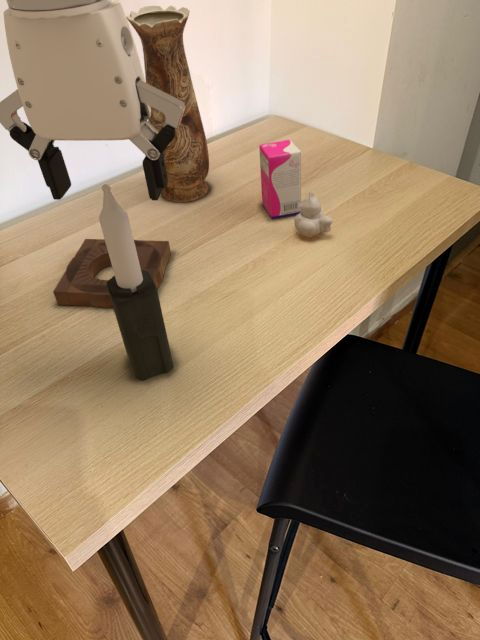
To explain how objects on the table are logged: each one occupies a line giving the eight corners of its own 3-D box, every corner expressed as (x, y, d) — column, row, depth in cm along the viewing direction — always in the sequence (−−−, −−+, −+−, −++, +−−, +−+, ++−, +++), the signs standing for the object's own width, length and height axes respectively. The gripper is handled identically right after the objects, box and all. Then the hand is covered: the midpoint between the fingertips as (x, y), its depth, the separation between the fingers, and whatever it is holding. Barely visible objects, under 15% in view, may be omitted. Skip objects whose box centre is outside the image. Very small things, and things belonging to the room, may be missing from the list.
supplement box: (290, 199, 99) (291, 138, 91) (301, 214, 95) (302, 152, 87) (261, 204, 98) (258, 143, 90) (270, 220, 94) (269, 157, 86)
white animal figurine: (301, 222, 93) (301, 179, 87) (336, 230, 91) (340, 186, 85) (288, 238, 89) (288, 194, 84) (325, 246, 87) (328, 202, 82)
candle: (137, 382, 67) (83, 202, 49) (127, 357, 70) (74, 179, 53) (175, 370, 68) (137, 189, 51) (164, 345, 71) (124, 168, 54)
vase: (217, 180, 105) (200, 3, 84) (204, 207, 98) (181, 20, 77) (167, 177, 107) (138, 3, 86) (150, 203, 99) (113, 20, 78)
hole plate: (55, 305, 78) (50, 292, 77) (88, 250, 89) (84, 237, 87) (151, 309, 77) (147, 296, 75) (172, 253, 87) (170, 240, 86)
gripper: (176, -28, 42) (203, 176, 54) (-28, -21, 44) (41, 175, 56) (153, -8, 37) (188, 214, 49) (-78, 0, 38) (10, 212, 50)
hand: (110, 193), depth 52 cm, fingers open, 9 cm apart
